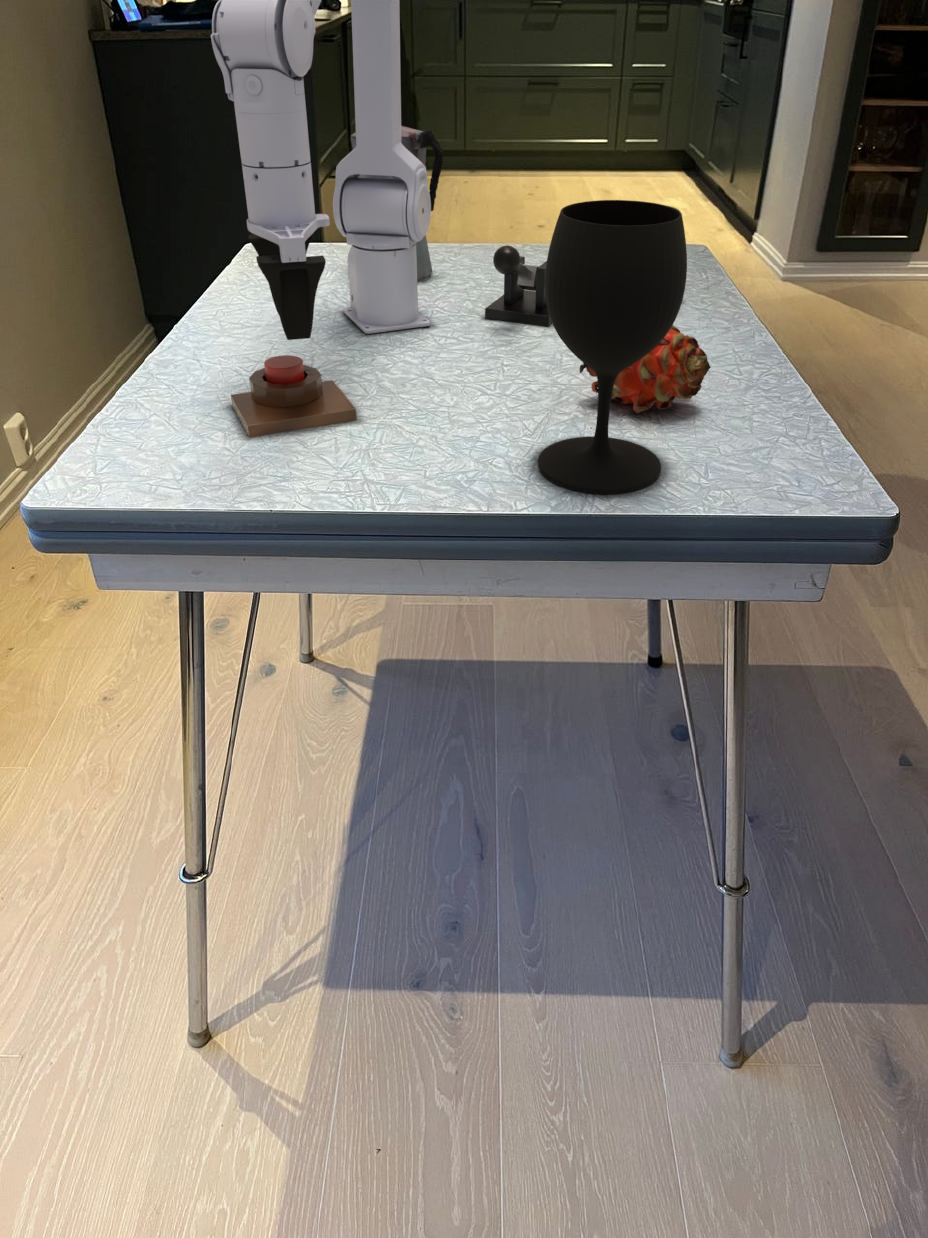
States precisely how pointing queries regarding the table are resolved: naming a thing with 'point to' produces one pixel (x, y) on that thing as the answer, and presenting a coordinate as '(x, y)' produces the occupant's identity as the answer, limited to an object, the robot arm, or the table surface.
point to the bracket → (521, 301)
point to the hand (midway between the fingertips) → (293, 324)
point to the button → (284, 369)
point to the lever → (515, 267)
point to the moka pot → (417, 146)
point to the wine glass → (611, 322)
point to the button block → (291, 404)
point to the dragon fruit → (661, 374)
